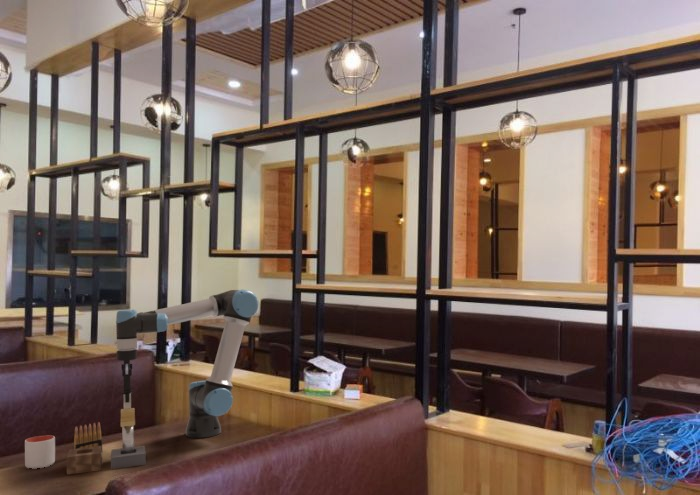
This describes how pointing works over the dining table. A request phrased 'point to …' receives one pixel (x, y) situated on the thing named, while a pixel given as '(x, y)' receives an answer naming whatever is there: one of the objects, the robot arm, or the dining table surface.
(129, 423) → the latch
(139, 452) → the socket block
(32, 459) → the cup
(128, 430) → the peg
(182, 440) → the dining table surface
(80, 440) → the ammunition clip
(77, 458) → the frame
